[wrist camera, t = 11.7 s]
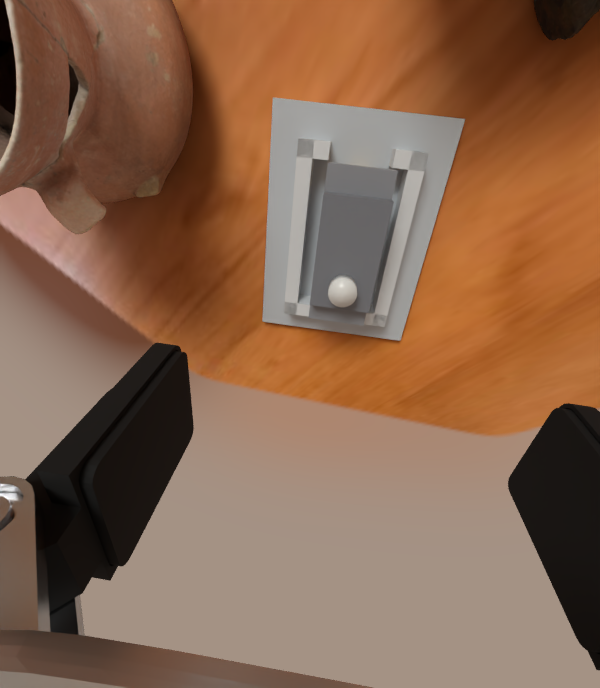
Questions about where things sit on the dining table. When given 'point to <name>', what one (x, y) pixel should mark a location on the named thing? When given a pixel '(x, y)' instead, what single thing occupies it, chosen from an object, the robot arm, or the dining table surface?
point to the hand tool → (564, 16)
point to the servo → (350, 241)
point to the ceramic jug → (91, 101)
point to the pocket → (307, 195)
